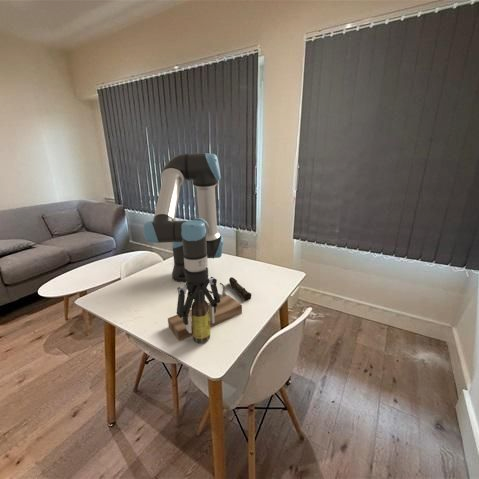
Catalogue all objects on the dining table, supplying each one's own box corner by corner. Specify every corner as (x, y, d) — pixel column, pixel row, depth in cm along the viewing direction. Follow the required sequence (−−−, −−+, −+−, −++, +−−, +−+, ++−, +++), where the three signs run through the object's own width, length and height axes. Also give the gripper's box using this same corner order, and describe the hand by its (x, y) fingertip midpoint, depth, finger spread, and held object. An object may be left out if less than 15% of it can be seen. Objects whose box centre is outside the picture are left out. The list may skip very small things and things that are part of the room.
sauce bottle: (213, 340, 94) (211, 290, 88) (196, 346, 91) (193, 294, 85) (207, 330, 99) (204, 282, 93) (190, 335, 96) (187, 286, 91)
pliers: (218, 281, 137) (243, 296, 122) (218, 282, 137) (243, 297, 122) (202, 287, 131) (226, 303, 116) (202, 288, 131) (226, 305, 116)
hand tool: (251, 300, 120) (251, 291, 118) (244, 302, 118) (244, 293, 117) (234, 283, 136) (234, 274, 135) (227, 284, 134) (227, 276, 133)
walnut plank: (168, 327, 101) (167, 318, 100) (228, 303, 117) (228, 295, 116) (179, 341, 94) (178, 331, 92) (242, 313, 109) (241, 304, 108)
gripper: (170, 281, 77) (177, 344, 84) (229, 263, 89) (231, 320, 96) (160, 272, 83) (168, 332, 90) (217, 256, 95) (220, 310, 102)
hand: (200, 325), depth 93 cm, fingers open, 8 cm apart
